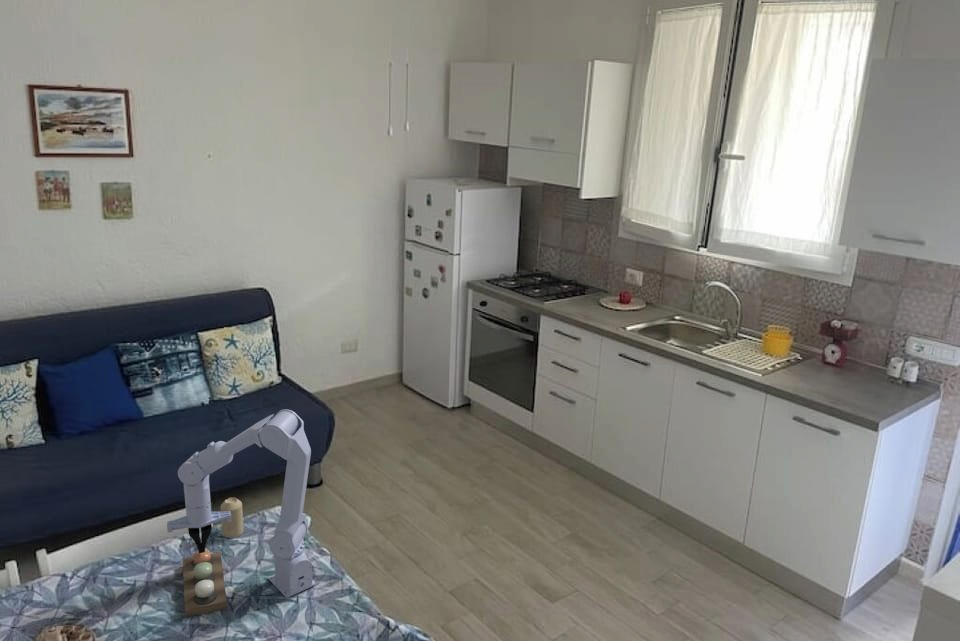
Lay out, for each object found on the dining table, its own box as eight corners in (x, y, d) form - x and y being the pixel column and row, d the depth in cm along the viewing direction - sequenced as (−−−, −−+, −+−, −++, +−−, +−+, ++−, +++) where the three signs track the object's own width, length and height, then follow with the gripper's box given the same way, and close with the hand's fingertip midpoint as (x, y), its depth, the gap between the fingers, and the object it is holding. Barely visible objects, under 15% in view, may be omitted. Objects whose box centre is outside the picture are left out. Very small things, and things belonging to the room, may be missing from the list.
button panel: (227, 608, 167) (226, 600, 166) (185, 617, 163) (184, 609, 162) (221, 558, 184) (220, 551, 183) (183, 565, 181) (182, 557, 180)
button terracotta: (211, 563, 178) (210, 557, 177) (194, 566, 176) (193, 560, 176) (210, 554, 181) (209, 548, 181) (193, 557, 180) (192, 551, 179)
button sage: (212, 576, 172) (212, 570, 171) (194, 580, 170) (194, 574, 169) (211, 567, 175) (211, 560, 175) (194, 570, 174) (193, 564, 173)
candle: (239, 538, 193) (237, 506, 190) (219, 537, 193) (217, 505, 190) (246, 527, 198) (244, 495, 195) (226, 526, 198) (224, 494, 195)
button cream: (214, 595, 165) (214, 588, 165) (196, 599, 164) (195, 592, 163) (213, 584, 169) (213, 578, 168) (195, 588, 167) (194, 581, 167)
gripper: (228, 489, 180) (231, 536, 184) (165, 499, 175) (169, 547, 179) (230, 503, 174) (233, 551, 178) (165, 514, 169) (170, 563, 173)
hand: (201, 550), depth 178 cm, fingers closed
